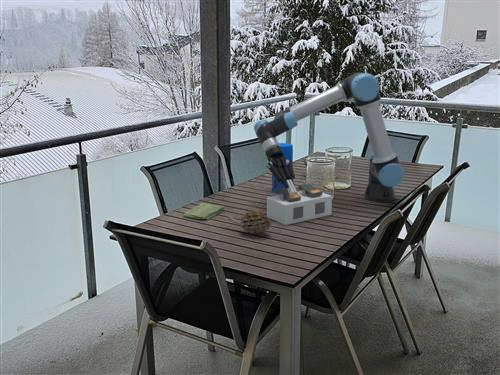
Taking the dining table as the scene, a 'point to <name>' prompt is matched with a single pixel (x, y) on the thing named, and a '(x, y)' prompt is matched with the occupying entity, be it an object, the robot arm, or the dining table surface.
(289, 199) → the outer rocker
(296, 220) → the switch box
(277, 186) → the thermos
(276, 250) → the dining table surface
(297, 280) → the dining table surface
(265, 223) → the pine cone
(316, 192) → the inner rocker
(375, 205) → the dining table surface
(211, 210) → the washcloth
